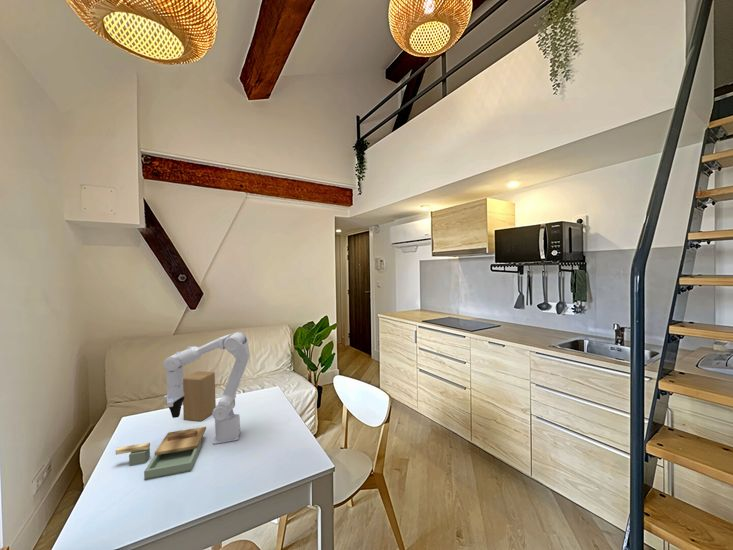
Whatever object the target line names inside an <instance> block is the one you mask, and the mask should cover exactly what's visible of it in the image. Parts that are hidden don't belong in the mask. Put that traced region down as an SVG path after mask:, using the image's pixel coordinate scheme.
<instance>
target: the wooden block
mask: <svg viewBox="0 0 733 550" xmlns="http://www.w3.org/2000/svg"><path fill="white" fill-rule="evenodd" d="M215 373H216V372H213V371H198V370H197V371H196V372H193V373H191V374H189V375H187V376H185V377H184V376H183V391H184V396H183V397H185V398H184V400H183V403H182V407H183V408H182V409H183V411H182V412H183V413H182V414H183V420H184V421H194V422H195V421H196V422H203V421H204V420H205V419H207V418H208V417H210V416H212V412H213V410H214V408H215V407H216V405H217V404H216V380H215V379H216V375H215Z"/></svg>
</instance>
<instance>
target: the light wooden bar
mask: <svg viewBox="0 0 733 550" xmlns="http://www.w3.org/2000/svg"><path fill="white" fill-rule="evenodd" d="M149 447H150V448H151V442H144V443H138V444H131V445H126V446H120V447H117V448H116V450H115V455H122V454H128V453H129V454H130V453H131V452H135V451H141V450H147V449H149Z"/></svg>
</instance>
